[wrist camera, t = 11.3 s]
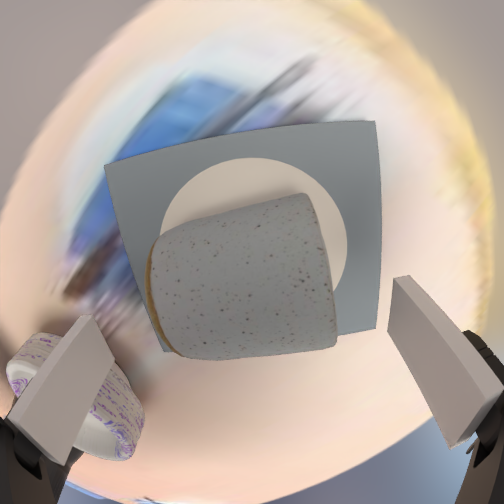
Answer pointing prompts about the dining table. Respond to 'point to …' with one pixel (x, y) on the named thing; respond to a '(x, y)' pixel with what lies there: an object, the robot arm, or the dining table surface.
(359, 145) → the board
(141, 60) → the dining table surface
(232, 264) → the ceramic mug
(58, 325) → the dining table surface
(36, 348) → the paper bowls
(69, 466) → the robot arm
